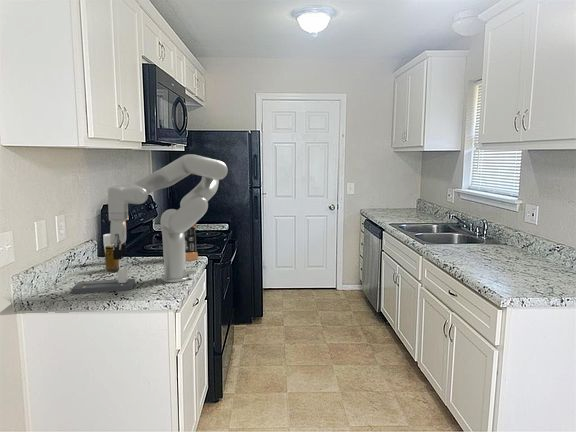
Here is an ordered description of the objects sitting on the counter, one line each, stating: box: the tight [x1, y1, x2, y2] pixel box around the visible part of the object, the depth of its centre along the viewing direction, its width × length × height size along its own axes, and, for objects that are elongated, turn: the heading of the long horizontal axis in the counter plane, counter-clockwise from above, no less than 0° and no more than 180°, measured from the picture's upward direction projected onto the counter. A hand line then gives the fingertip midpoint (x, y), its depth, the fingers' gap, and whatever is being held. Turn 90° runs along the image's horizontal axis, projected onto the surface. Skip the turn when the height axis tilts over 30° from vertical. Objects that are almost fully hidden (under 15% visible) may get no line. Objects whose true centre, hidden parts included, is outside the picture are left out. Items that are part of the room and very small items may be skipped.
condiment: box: [103, 245, 126, 273], centre depth 203 cm, size 7×8×12 cm
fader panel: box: [70, 278, 136, 295], centre depth 176 cm, size 23×10×2 cm, turn 102°
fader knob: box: [117, 267, 129, 283], centre depth 177 cm, size 3×4×5 cm
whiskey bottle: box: [184, 222, 199, 261], centre depth 224 cm, size 10×10×32 cm
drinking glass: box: [102, 233, 114, 253], centre depth 216 cm, size 7×7×15 cm
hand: (120, 256), depth 176 cm, fingers open, 9 cm apart
